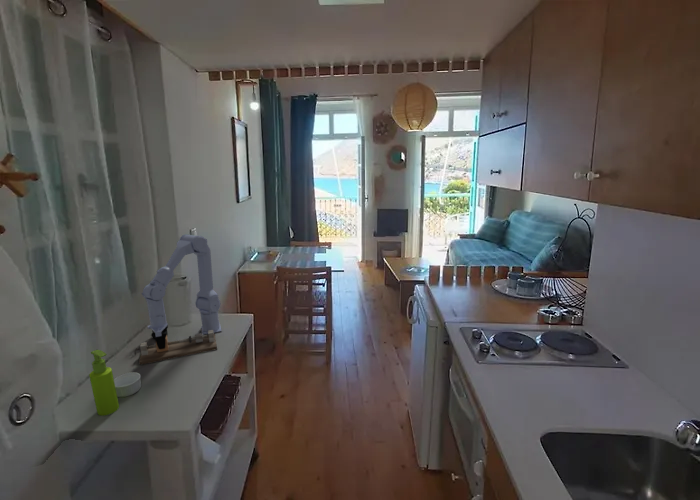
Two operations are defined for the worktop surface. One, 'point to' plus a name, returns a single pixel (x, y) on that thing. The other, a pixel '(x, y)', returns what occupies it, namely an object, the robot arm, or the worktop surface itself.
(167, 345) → the sleeve
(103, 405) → the soap dispenser
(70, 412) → the worktop surface
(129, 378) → the ramekin
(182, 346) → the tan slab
